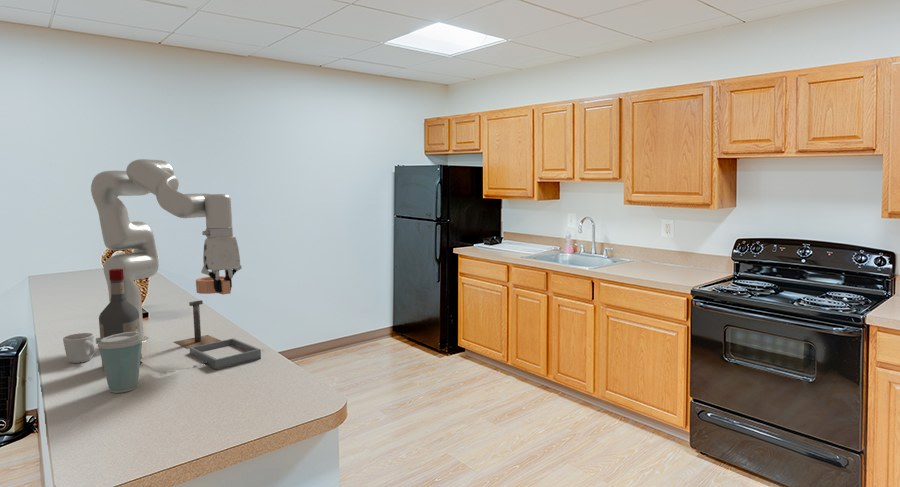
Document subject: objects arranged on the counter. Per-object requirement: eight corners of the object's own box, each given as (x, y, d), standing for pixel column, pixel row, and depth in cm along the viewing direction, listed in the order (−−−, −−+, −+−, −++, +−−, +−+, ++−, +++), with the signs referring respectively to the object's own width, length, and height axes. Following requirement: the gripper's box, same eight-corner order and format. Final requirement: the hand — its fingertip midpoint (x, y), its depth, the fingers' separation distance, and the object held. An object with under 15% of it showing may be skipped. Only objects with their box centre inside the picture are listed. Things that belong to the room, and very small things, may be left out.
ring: (211, 296, 167) (210, 283, 167) (191, 291, 176) (190, 279, 176) (242, 291, 174) (241, 279, 174) (221, 286, 184) (221, 275, 183)
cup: (106, 360, 172) (104, 335, 172) (80, 367, 165) (78, 342, 164) (85, 355, 177) (83, 331, 176) (59, 362, 170) (57, 337, 169)
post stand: (187, 352, 180) (185, 307, 178) (173, 345, 188) (170, 301, 186) (223, 344, 189) (221, 301, 187) (207, 338, 197) (205, 296, 195)
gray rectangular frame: (215, 369, 163) (215, 360, 163) (190, 356, 176) (189, 347, 175) (260, 358, 174) (260, 349, 174) (233, 346, 186) (233, 338, 186)
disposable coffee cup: (98, 399, 141) (94, 343, 140) (102, 385, 151) (99, 332, 149) (145, 391, 146) (141, 337, 144) (146, 379, 156) (143, 328, 154)
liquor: (144, 360, 172) (138, 266, 169) (132, 370, 163) (126, 271, 160) (112, 361, 171) (106, 267, 167) (99, 371, 162) (92, 272, 158)
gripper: (199, 236, 162) (203, 296, 164) (249, 232, 174) (252, 288, 176) (188, 234, 167) (192, 293, 169) (238, 231, 179) (241, 286, 181)
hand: (223, 290), depth 172 cm, fingers closed on ring, 2 cm apart
